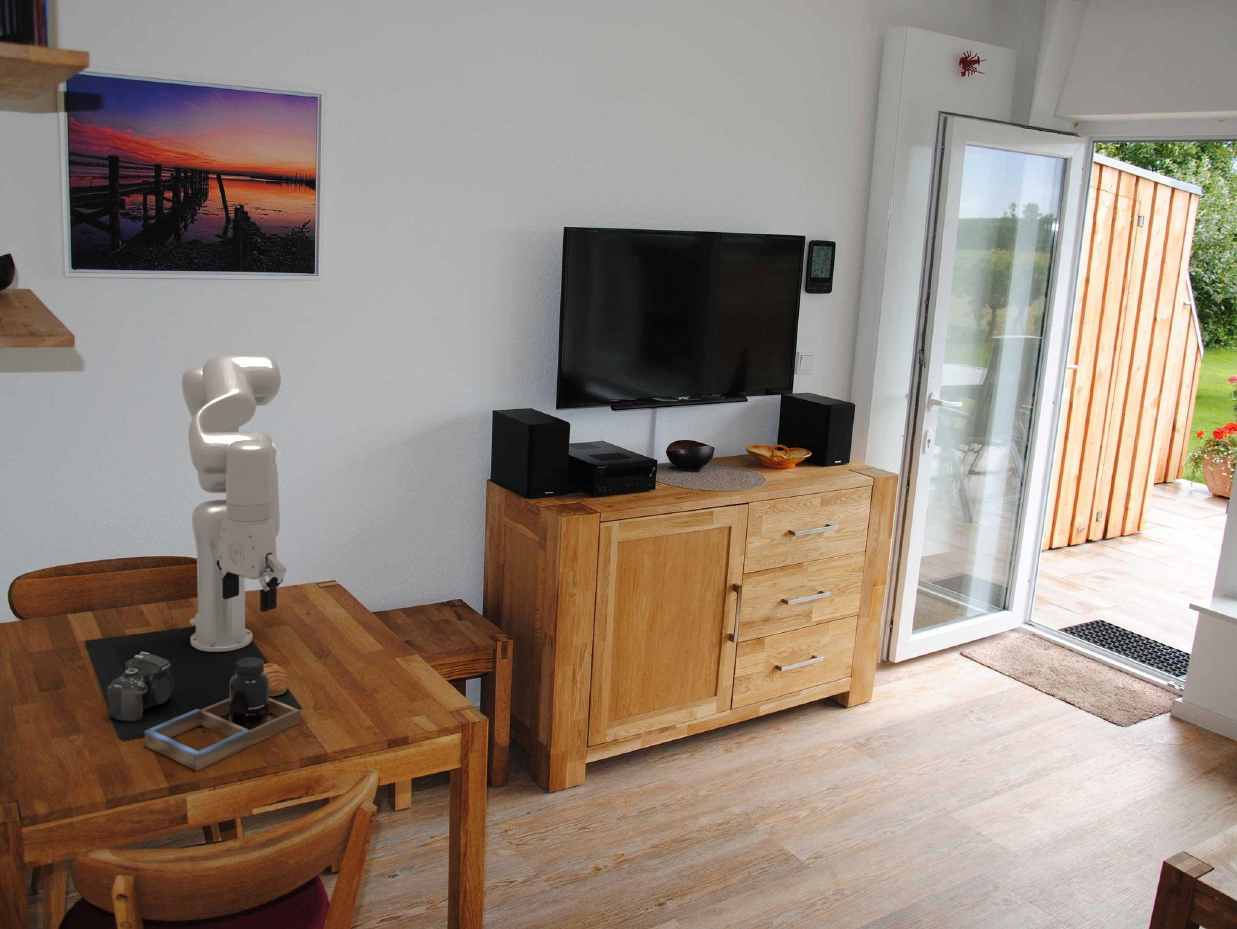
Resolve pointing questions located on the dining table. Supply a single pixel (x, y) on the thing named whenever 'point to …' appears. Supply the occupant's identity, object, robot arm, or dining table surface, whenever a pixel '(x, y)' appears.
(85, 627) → the dining table surface
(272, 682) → the pastry
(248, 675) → the supplement bottle
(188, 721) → the caddy
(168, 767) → the dining table surface
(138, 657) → the camera
